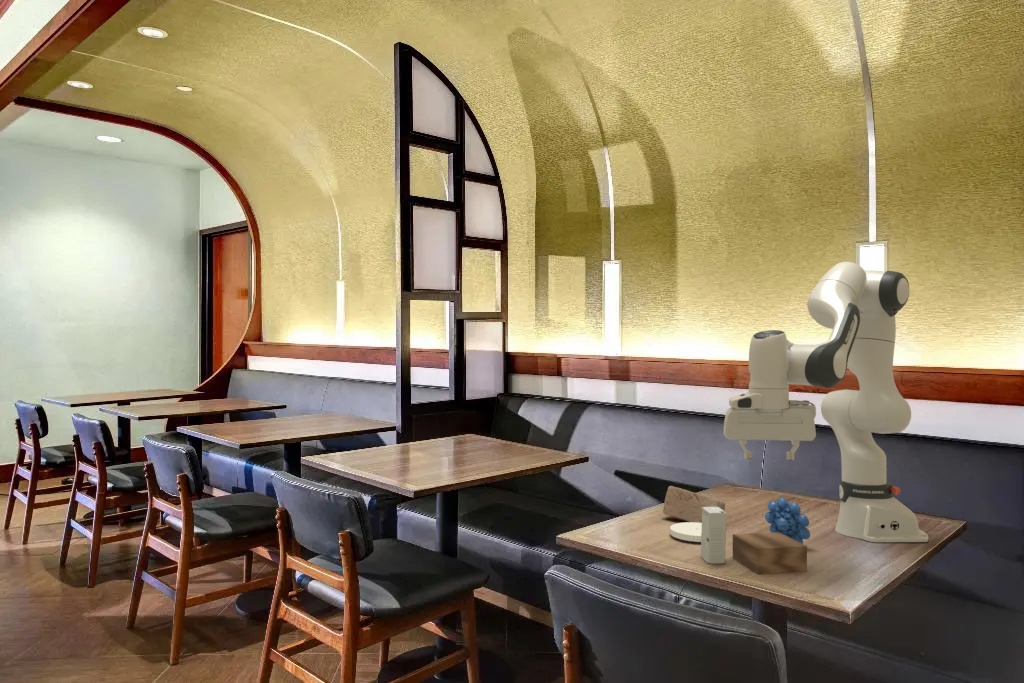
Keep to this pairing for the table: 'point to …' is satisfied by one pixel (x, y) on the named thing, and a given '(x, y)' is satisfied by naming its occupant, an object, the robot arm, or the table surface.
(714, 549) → the skincare box
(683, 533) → the plastic lid
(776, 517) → the grapes
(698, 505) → the brick
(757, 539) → the walnut block
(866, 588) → the table surface
